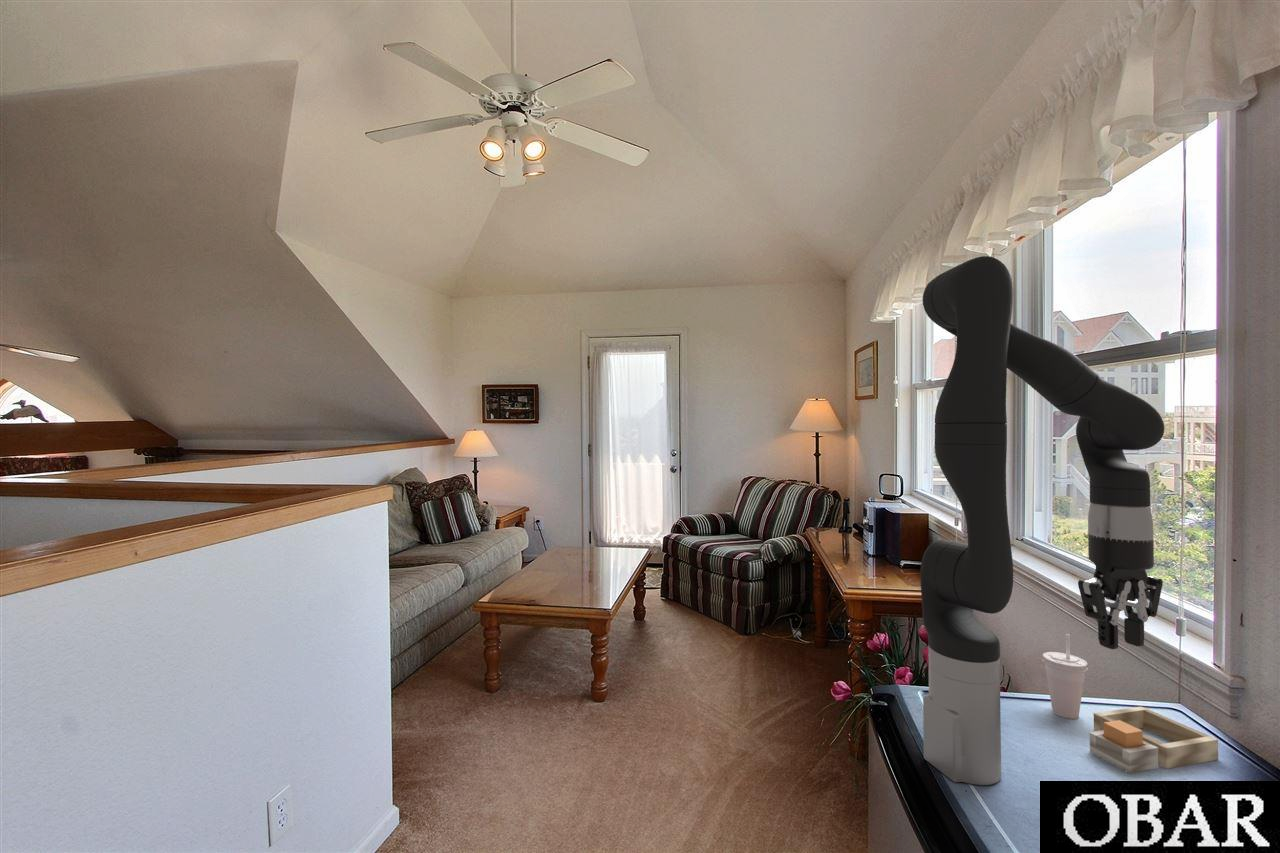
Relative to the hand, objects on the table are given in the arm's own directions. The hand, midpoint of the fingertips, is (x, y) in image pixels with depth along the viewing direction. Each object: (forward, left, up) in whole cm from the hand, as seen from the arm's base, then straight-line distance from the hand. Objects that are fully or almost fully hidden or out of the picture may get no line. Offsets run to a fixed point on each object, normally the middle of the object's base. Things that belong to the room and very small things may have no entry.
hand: (1121, 645), depth 83 cm
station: (+6, +2, -17) cm, 18 cm away
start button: (0, 0, -15) cm, 15 cm away
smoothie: (+5, +13, -18) cm, 22 cm away
